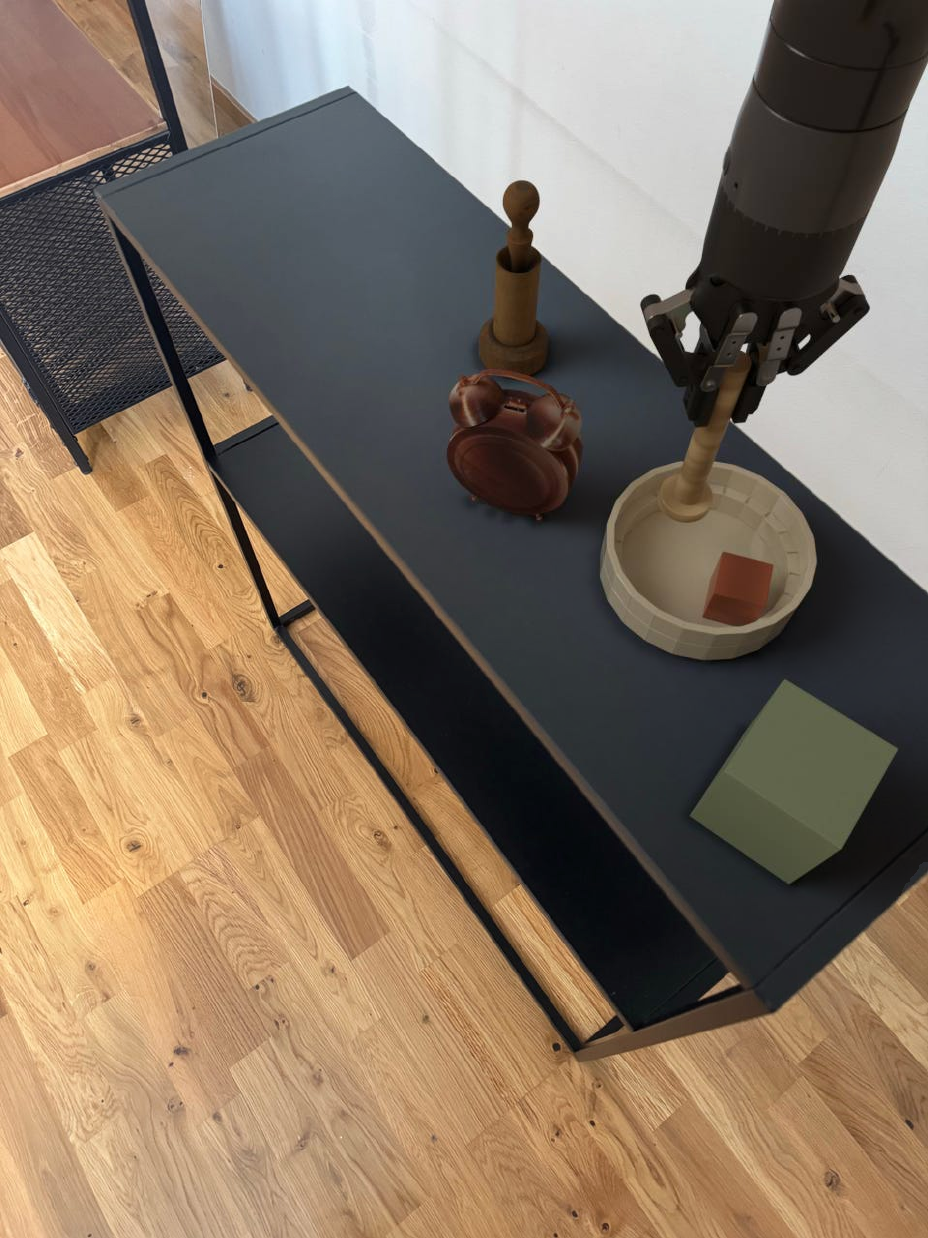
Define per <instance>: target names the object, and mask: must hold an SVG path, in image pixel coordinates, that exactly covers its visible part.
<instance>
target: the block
mask: <svg viewBox="0 0 928 1238" xmlns="http://www.w3.org/2000/svg"><path fill="white" fill-rule="evenodd" d="M773 566H774V565H773V564H770V563H766V562H762V561H758V560H755V559H751V558H747V557H743V556H739V555H735V554H731V553H727V552H722V554H721V557H720V559H719V561H718V563H717V565H716V567H715V570H714V572H713V574H712V576H711V579H710V584H709V588H708V593H707V597H706V602H705V606H704V610H703V615H702V617H703V618H706V619H710V620H713V621H717V622H721V623H725V624H728V625H732V626H736V627H738V626H744V625H747V624H750V623H753V622H755V621H757V620H758V619H759V617H760V616H761V614H762V612H763V610H764V609H765V607H766V604H767V598H768V593H769V587H770V582H771V577H772V571H773Z"/></svg>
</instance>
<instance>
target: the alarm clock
mask: <svg viewBox="0 0 928 1238" xmlns="http://www.w3.org/2000/svg"><path fill="white" fill-rule="evenodd" d="M493 377H501V378H507V379H508V378H509V379H513V380H517V381H520V382H523V383H527V384H529V385H532V386H535V387H537V388H539V389H540V390H541V389H542V390H544V391H545V392H547V393H545V394H542V395H540V396H538V395H536V394H534V393H530V392H527V391H523V390H517V389H511V388H502V386H501V385H500V384H499V382H498V381H496V380H495V379H494V378H493ZM448 406H449V407H448V408H449V412H450V414H451V416H452V418H453V420H454V422H455V426H454V428H453V431H452V433H451V435H450V440H449V442H448V445H447V447H446V461H447V464H448V467H449V470H450V472H451V473H452V475H453V476H454V478H455V479H456V480H457V482H458V483H459V484H460V486H462V487H463V488H464V490H466V491H467V492H468V493H469V494H471V500H472V501H477V500H480V501H482V502H483V503H485V504H487V505H489V506H491V507H494V508H496V509H498V510H501V511H504V512H507V513H512V514H517V515H529V516H530V515H531V516H532V515H533V516H535V518H536V520H537V521H541V520H542V519H543V517H542V514H546V513H549V512H551V511H554V510H556V509H557V508H558V507H560V506H561V505H562V504H563V503H564V501H565V500H566V498H567V496H568V494H569V492H570V490H571V489H572V487H573V485H574V484H575V481H576V479H577V476H578V473H579V468H580V465H581V461H582V458H583V451H584V449H583V448H584V446H583V440H582V436H581V430H582V428H583V417H582V413H581V412H582V411H581V410H580V407H579V406H578V404H577V403H576V402H575V401H574V400H573V399H572V398H571V397H569V396H568V395H566V394H564V393H560V392H558V391H557V390H556V389H555V387H553V386H552V385H550V384H548V383H546V382H545V381H542V380H540V379H538V378H535V377H533V376H532V375H530V376H527V375H524V374H520V373H517V372H513V371H506V370H499V369H487V368H486V369H483V370H481V371H480V373H474V374H470V375H467V376H466V375H465V374H461V375H459V376H458V382H457V383H456V384H455V385H454V387H453V388H452V390H451V392H450V394H449V397H448Z"/></svg>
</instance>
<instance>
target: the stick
mask: <svg viewBox="0 0 928 1238" xmlns="http://www.w3.org/2000/svg"><path fill="white" fill-rule="evenodd" d="M751 364H752V362H751V359H750V357H749V356H748V355H747V354H746V351H743V350H742V349H741V350H740V352H739V355H738V357H737V359H736V361H735V363H734V365H733V366H728V368H727V370H726V372H725V374H724V376H723V379H722V381H721V383H720V385H719V390H720V391H719V394H718V397H717V400H716V403H715V406H714V409H713V412H712V414H711V417H710V420H709V423H708V426H707V427H700V428H695V427H694V430H693V433H692V437H691V439H690V442H689V445H688V448H687V451H686V454H685V456H684V460H683V461H684V462H683V465H682V468H681V471H680V474H675V475H673V476H670V477H669V478H667V479H666V480H665V481H664V482H663V484H662V486H661V489H660V492H659V495H658V502H659V506H660V508H661V510H662V511H663V512H664V513H665V515H667V516H668V517H669V518H671V519H673V520H675V521H678V522H683V523H691V522H696V521H698V520H700V519H702V518H703V517H705V516H706V514H707V513H708V512H709V509H710V507H711V505H712V502H713V493H712V490H711V488H710V486H709V485H708V483H707V482H706V480H707V478H708V475H709V473H710V470H711V468H712V465H713V462H714V461H715V460H716V458H717V454H718V452H719V449H720V447H721V444H722V442H723V439H724V437H725V434H726V431H727V429H728V426H729V424H730V421H731V420H732V419H731V416H732V414H733V411H734V409H735V406H736V403H737V401H738V398H739V396H740V393H741V391H742V388H743V385H744V383H745V380H746V378H747V375H748V373H749V370H750V367H751Z"/></svg>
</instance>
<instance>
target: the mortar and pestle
mask: <svg viewBox="0 0 928 1238" xmlns="http://www.w3.org/2000/svg"><path fill="white" fill-rule="evenodd" d="M540 197H541V196H540V193H539V190H538V189H537V187H536V186H535V185H534V183H532V182H531V181H529V180H525V179H519V180H515V181H513V182H511V183H510V184H509V185H508V186H507V187H506V189H505V190H504V193H503V196H502V209H503V211H504V213H505V215H506V216H507V218H508V220H509V221H510V223H511V227H510V228H508V230H507V231H506V235H505V236H506V244H507V245H505V246H503V247H501V248H500V249H499V250H498V251H497V253H496V255H495V266H494V267H495V269H494V270H495V271H494V272H495V273H494V275H495V277H494V281H495V282H494V305H493V309H494V310H493V316H492V317H491V318H489V319H488V320H487V321H486V322H485V323H483V325H482V327H481V329H480V332H479V338H478V339H479V340H478V355H479V359H480V362H481V363H482V365H483V366H484V367H485V368H486V369H499V370H506V371H513V372H517V373H520V374H524V375H527V376H532V375H534V374H536V373H537V372H538V371H540V370H541V369H542V368H543V367H544V365H545V363H546V361H547V356H548V345H549V336H548V332H547V330H546V327H544V325H543V324H542V323H541V322H540V321H539V320H538V319H537V310H538V300H539V298H538V297H539V285H540V277H541V270H542V269H541V268H542V255H541V253H540V251H539V250H538V249H537V248H535V247H534V246H532V244H533V240H534V232H533V230H532V229H531V228H530V227H529V226H530V223H531V222H532V221H533V219H534V218H535V216H536V215H537V213H538V211H539V208H540V204H541V198H540Z"/></svg>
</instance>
